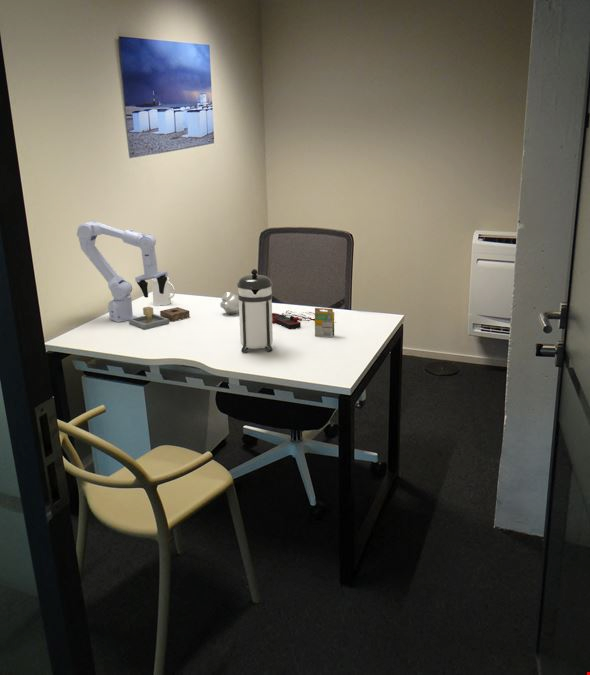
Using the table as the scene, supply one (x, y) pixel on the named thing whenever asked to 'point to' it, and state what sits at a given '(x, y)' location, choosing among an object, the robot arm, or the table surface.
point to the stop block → (175, 313)
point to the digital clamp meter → (288, 320)
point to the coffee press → (255, 311)
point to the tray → (155, 322)
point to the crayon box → (324, 322)
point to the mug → (161, 298)
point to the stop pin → (148, 314)
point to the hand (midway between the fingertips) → (154, 295)
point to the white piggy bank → (230, 303)
